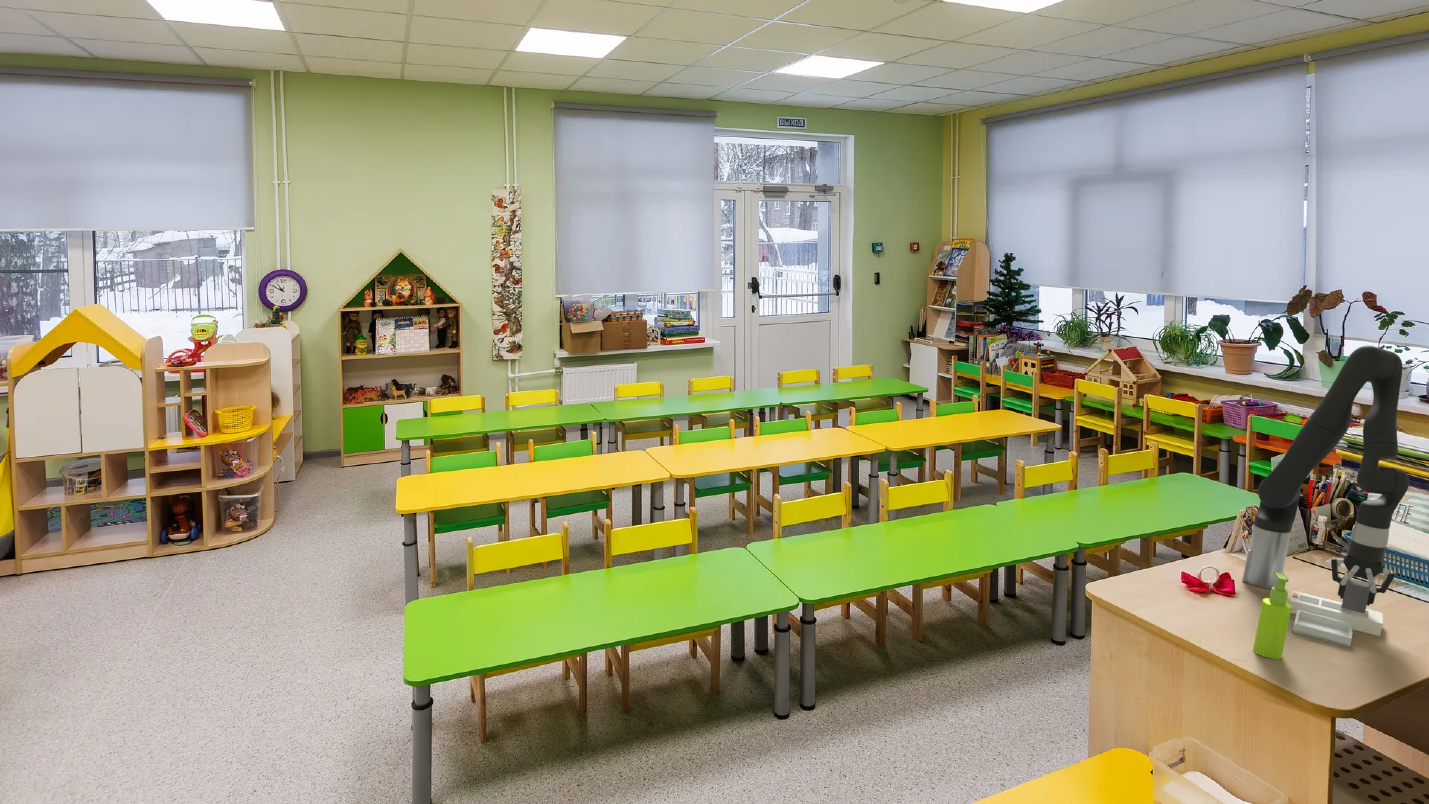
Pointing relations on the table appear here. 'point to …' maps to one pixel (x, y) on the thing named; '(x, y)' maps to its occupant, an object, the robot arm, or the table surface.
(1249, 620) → the table surface
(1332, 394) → the robot arm
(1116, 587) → the table surface
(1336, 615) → the power strip
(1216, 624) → the table surface
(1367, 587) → the block
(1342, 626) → the tray
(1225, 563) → the table surface
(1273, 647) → the soap dispenser
